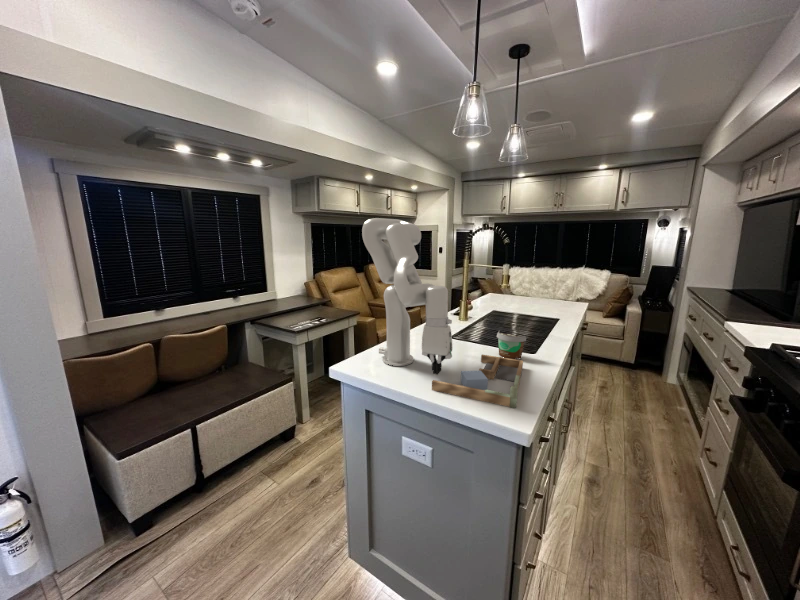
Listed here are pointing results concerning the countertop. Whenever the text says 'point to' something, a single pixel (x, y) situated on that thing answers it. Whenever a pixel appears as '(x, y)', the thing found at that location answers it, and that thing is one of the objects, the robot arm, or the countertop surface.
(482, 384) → the block
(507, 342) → the food container
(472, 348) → the countertop surface
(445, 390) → the box
